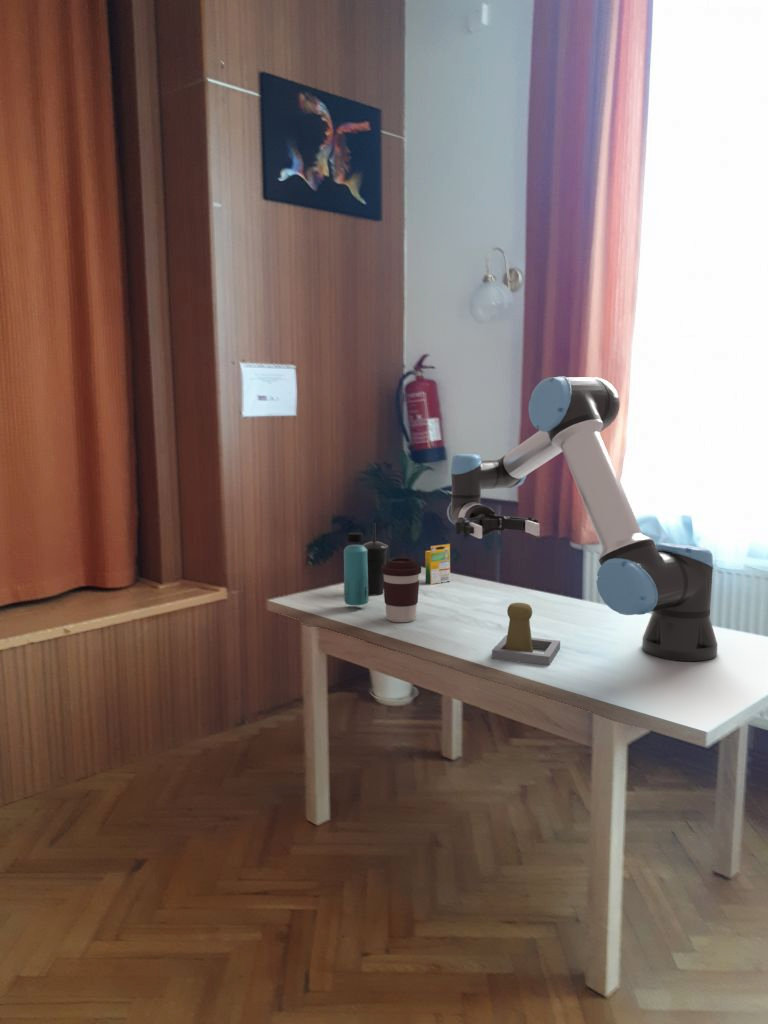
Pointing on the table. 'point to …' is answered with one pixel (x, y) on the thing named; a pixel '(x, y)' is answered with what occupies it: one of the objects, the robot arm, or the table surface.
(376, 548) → the drinking cup
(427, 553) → the crayon box
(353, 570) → the beverage bottle
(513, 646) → the cork
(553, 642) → the gray square frame
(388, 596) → the coffee cup
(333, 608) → the table surface
